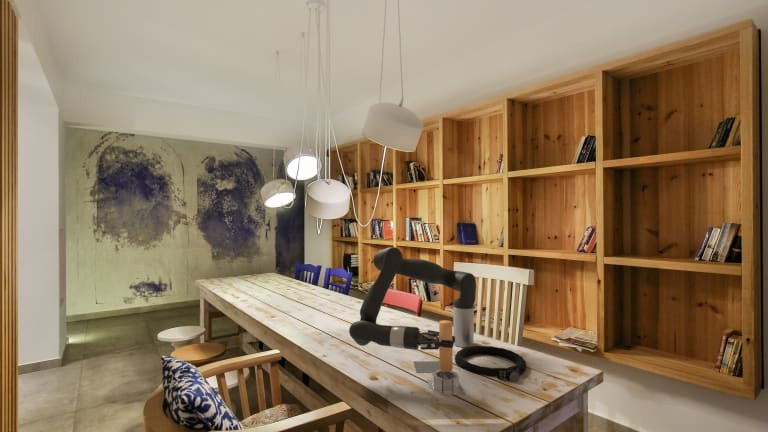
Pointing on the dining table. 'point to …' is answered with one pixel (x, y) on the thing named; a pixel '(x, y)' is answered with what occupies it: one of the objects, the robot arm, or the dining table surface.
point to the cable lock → (503, 373)
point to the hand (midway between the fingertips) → (453, 341)
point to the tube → (445, 352)
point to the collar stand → (445, 383)
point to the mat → (426, 366)
